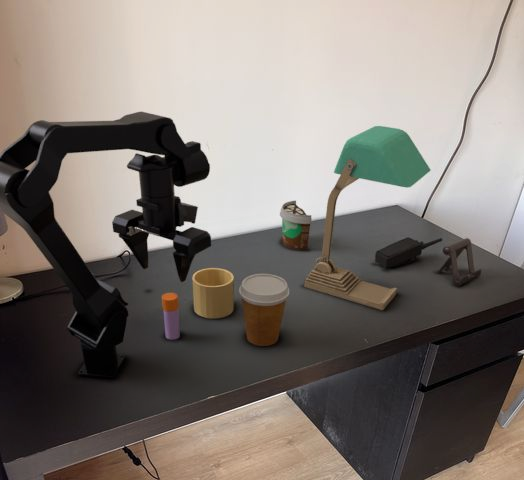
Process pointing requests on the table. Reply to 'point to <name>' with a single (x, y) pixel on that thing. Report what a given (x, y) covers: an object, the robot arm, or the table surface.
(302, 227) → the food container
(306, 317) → the table surface
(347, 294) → the banker's lamp
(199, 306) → the pen pot
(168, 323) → the glue stick
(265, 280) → the disposable coffee cup
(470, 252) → the tablet stand
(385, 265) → the walkie-talkie
